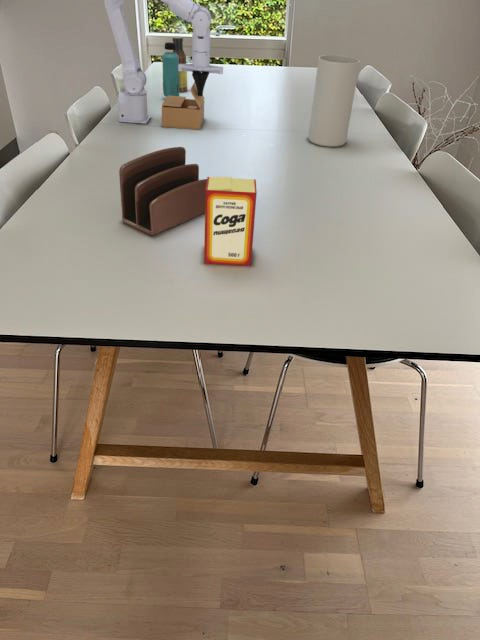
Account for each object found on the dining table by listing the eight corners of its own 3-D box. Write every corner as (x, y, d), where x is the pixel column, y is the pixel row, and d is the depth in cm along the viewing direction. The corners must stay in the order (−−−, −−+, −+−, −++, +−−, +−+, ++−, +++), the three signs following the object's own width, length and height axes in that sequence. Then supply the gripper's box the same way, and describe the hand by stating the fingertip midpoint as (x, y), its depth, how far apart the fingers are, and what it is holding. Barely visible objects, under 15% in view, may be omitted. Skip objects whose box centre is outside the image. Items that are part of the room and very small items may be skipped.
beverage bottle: (178, 102, 208) (178, 44, 196) (161, 100, 208) (160, 43, 196) (180, 97, 213) (180, 41, 201) (164, 96, 213) (162, 40, 201)
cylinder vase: (344, 149, 172) (359, 64, 158) (306, 144, 174) (317, 60, 159) (346, 138, 182) (360, 57, 168) (309, 133, 184) (320, 53, 169)
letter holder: (121, 222, 121) (116, 161, 113) (183, 198, 134) (183, 141, 126) (152, 237, 116) (149, 174, 108) (213, 210, 129) (214, 152, 121)
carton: (204, 119, 191) (204, 98, 187) (199, 129, 181) (200, 107, 177) (168, 116, 191) (167, 95, 187) (162, 126, 181) (161, 104, 177)
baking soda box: (250, 250, 114) (255, 177, 105) (250, 265, 109) (256, 190, 99) (205, 248, 114) (207, 174, 104) (204, 263, 108) (205, 187, 99)
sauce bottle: (188, 89, 225) (188, 36, 213) (185, 93, 220) (185, 38, 208) (173, 88, 225) (172, 35, 214) (170, 91, 220) (169, 37, 209)
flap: (203, 98, 187) (204, 98, 187) (199, 108, 177) (200, 107, 177) (194, 81, 184) (195, 81, 184) (189, 90, 174) (190, 89, 174)
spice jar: (185, 123, 184) (185, 108, 181) (187, 120, 187) (187, 105, 184) (197, 124, 184) (197, 109, 181) (198, 121, 187) (199, 106, 184)
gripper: (176, 51, 169) (177, 96, 177) (222, 54, 169) (220, 100, 177) (180, 47, 175) (180, 91, 183) (224, 50, 175) (222, 94, 183)
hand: (200, 95), depth 180 cm, fingers closed
